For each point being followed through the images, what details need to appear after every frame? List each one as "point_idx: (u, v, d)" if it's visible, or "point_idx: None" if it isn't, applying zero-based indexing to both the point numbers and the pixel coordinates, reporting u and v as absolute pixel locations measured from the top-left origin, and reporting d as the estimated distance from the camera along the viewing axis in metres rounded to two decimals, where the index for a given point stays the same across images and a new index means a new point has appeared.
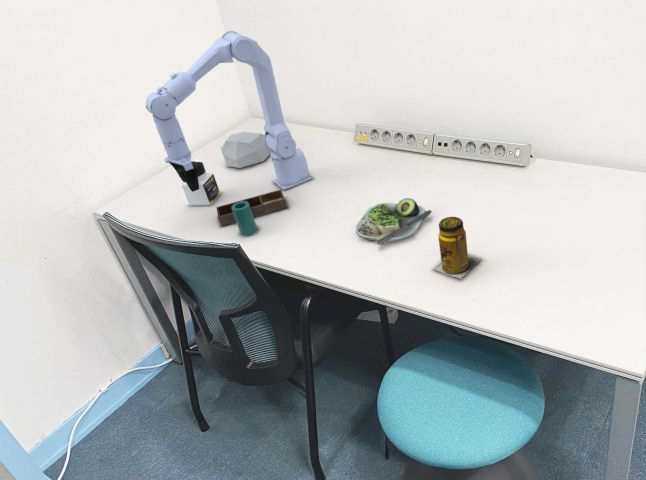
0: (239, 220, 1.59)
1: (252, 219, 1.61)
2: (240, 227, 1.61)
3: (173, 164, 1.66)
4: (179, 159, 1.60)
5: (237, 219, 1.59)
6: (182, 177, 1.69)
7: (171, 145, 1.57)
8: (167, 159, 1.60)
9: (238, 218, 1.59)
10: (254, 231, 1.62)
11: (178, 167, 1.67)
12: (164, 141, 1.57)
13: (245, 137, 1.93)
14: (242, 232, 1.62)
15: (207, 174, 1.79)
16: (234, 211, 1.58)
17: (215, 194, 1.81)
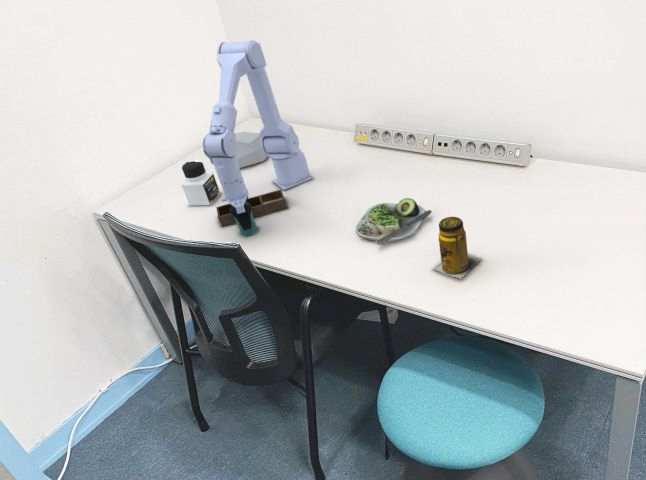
0: None
1: (252, 219, 1.61)
2: (240, 227, 1.61)
3: None
4: (234, 200, 1.54)
5: None
6: None
7: (227, 185, 1.52)
8: (223, 198, 1.56)
9: None
10: (254, 231, 1.62)
11: None
12: (230, 181, 1.51)
13: (245, 137, 1.93)
14: (242, 232, 1.62)
15: (207, 174, 1.79)
16: None
17: (215, 194, 1.81)
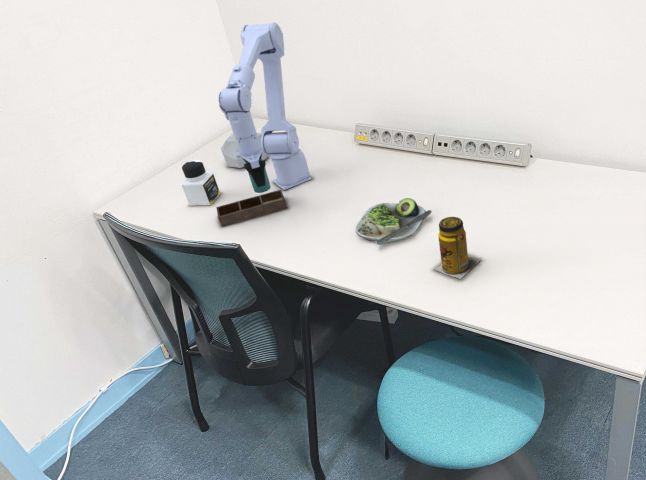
0: None
1: (266, 176, 1.64)
2: (254, 184, 1.63)
3: (246, 160, 1.63)
4: (248, 155, 1.57)
5: (251, 176, 1.62)
6: None
7: (242, 141, 1.55)
8: (238, 154, 1.59)
9: None
10: (267, 188, 1.65)
11: None
12: (245, 136, 1.54)
13: None
14: (256, 189, 1.64)
15: (207, 174, 1.79)
16: None
17: (215, 194, 1.81)
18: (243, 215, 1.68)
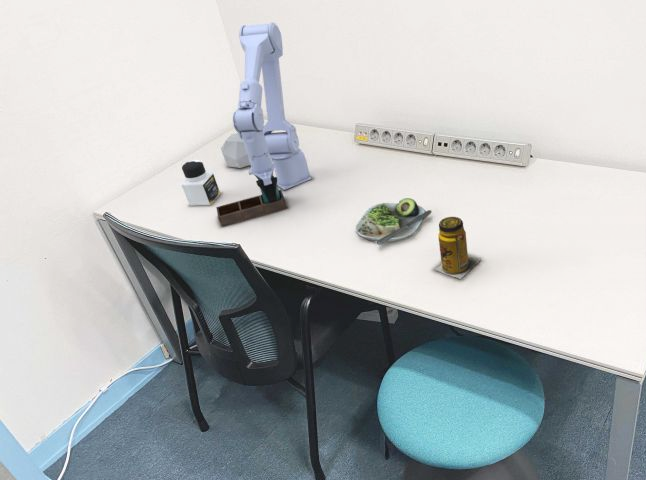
0: None
1: (277, 192, 1.69)
2: (266, 199, 1.69)
3: (258, 176, 1.69)
4: (261, 172, 1.63)
5: (263, 192, 1.68)
6: None
7: (255, 158, 1.61)
8: (250, 171, 1.64)
9: None
10: None
11: None
12: (258, 154, 1.60)
13: None
14: None
15: (207, 174, 1.79)
16: None
17: (215, 194, 1.81)
18: (243, 215, 1.68)
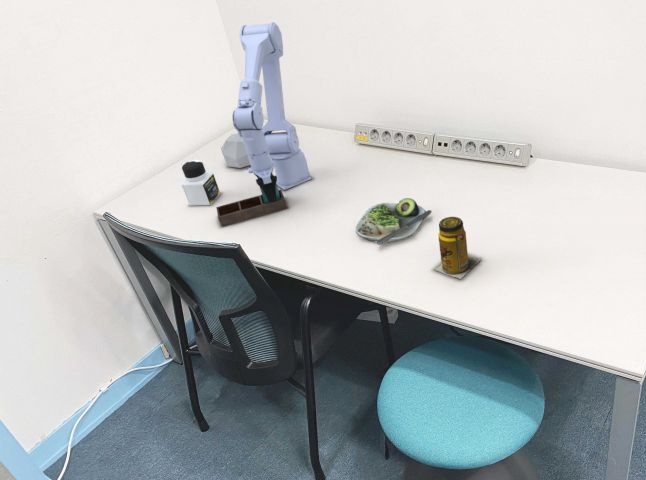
0: None
1: (277, 191, 1.69)
2: (265, 198, 1.69)
3: (258, 175, 1.69)
4: (260, 171, 1.63)
5: None
6: None
7: (254, 157, 1.60)
8: (250, 169, 1.64)
9: None
10: None
11: None
12: (258, 152, 1.60)
13: None
14: None
15: (207, 174, 1.79)
16: None
17: (215, 194, 1.81)
18: (243, 215, 1.68)
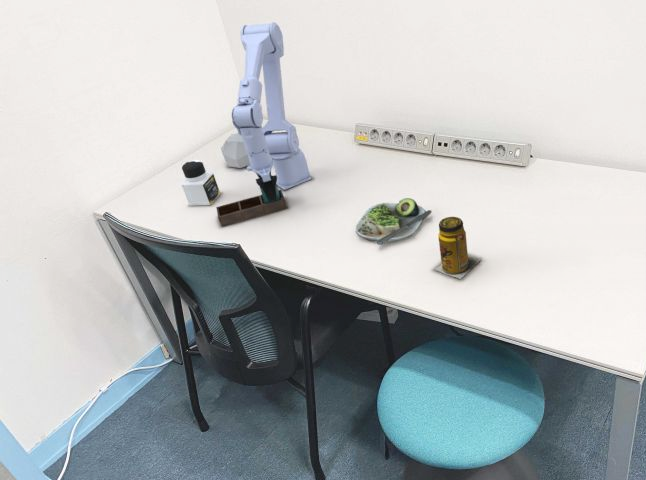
0: None
1: (277, 192, 1.69)
2: (266, 200, 1.69)
3: None
4: (260, 169, 1.62)
5: (263, 192, 1.68)
6: None
7: (254, 155, 1.60)
8: (249, 167, 1.64)
9: None
10: None
11: None
12: (257, 150, 1.59)
13: None
14: None
15: (207, 174, 1.79)
16: None
17: (215, 194, 1.81)
18: (243, 215, 1.68)
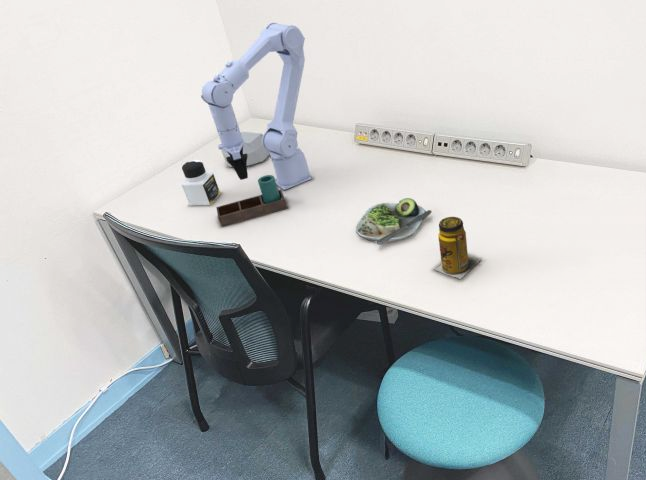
0: (265, 193, 1.68)
1: (277, 192, 1.69)
2: (266, 200, 1.69)
3: None
4: (230, 147, 1.63)
5: (263, 192, 1.68)
6: None
7: (224, 133, 1.61)
8: (220, 146, 1.64)
9: (264, 191, 1.67)
10: None
11: None
12: (221, 129, 1.60)
13: (245, 137, 1.93)
14: None
15: (207, 174, 1.79)
16: (260, 184, 1.66)
17: (215, 194, 1.81)
18: (243, 215, 1.68)
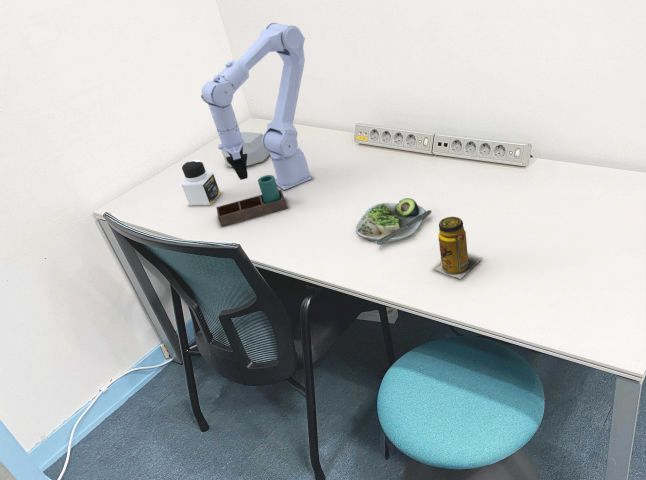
0: (265, 193, 1.68)
1: (277, 192, 1.69)
2: (266, 200, 1.69)
3: None
4: (230, 147, 1.63)
5: (263, 192, 1.68)
6: None
7: (224, 133, 1.61)
8: (220, 146, 1.64)
9: (264, 191, 1.67)
10: None
11: None
12: (221, 129, 1.60)
13: (245, 137, 1.93)
14: None
15: (207, 174, 1.79)
16: (260, 184, 1.66)
17: (215, 194, 1.81)
18: (243, 215, 1.68)
